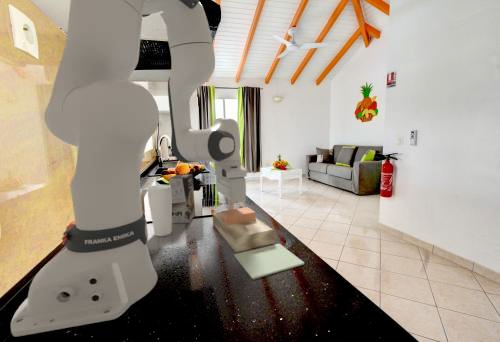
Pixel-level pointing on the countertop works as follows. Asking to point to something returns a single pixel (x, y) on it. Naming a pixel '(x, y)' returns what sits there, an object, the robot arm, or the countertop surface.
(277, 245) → the mat
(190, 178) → the coffee box
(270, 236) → the beige block
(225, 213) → the peach brick
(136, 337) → the countertop surface
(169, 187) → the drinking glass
